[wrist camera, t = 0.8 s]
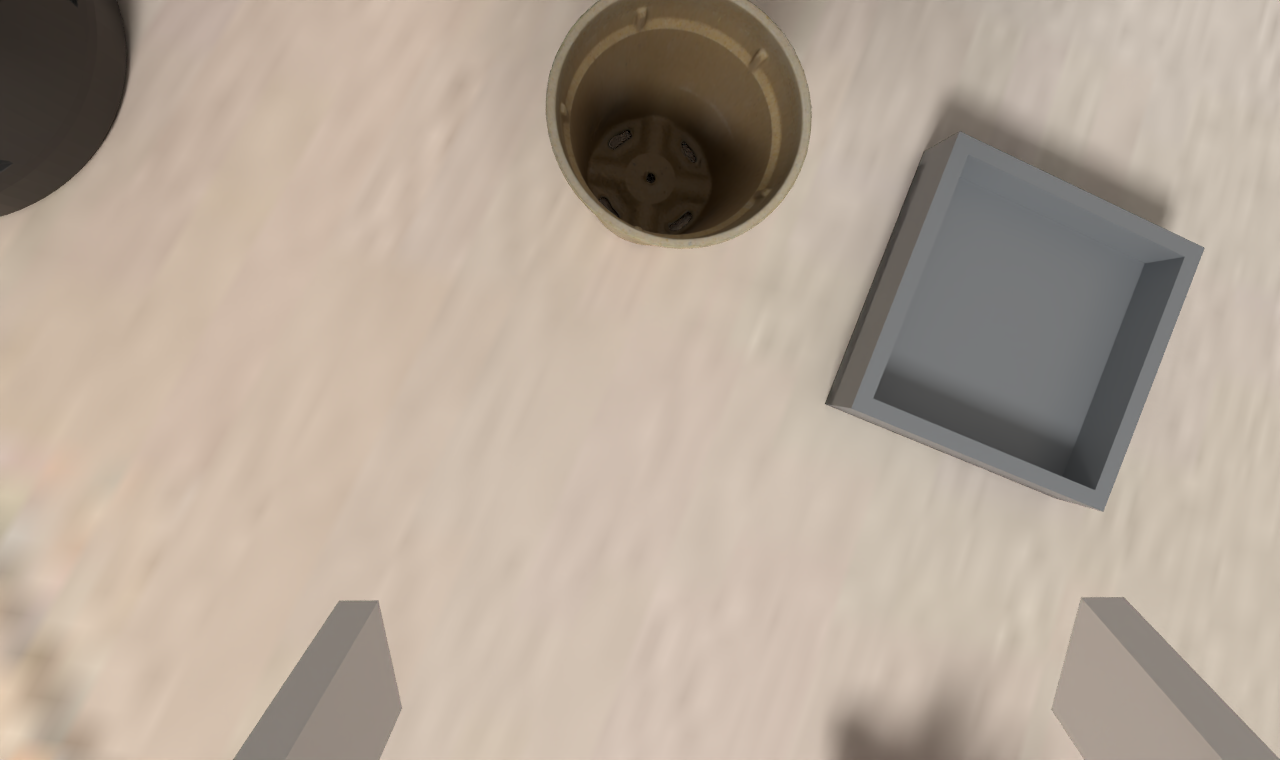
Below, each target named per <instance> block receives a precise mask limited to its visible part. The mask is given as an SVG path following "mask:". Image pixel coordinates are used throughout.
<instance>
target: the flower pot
mask: <svg viewBox="0 0 1280 760" xmlns="http://www.w3.org/2000/svg"><path fill="white" fill-rule="evenodd" d="M811 108H812V107H811V102H810V94H809V88H808V84H807V81H806V77H805V74H804V70H803V69H802V66H801V64H800V61H799V59H798V57H797V55H796V53H795V50H794V48H793V47H792V45H791V44H790V43H789V41H788V39H787V38H786V36H785V34H784V33H782V31H781V30H780V29H779V28H778V27H777V25H776V24H775V23H774V22H773V21H772V20H770V18H769V17H768V16H767V15H766V14H765V13H764V12H763V11H761V10H760V9H759V8H758V7H757V6H755V5H754V4H753V3H752V2H750V1H748V0H599V1H598V2H596V3H595V4H594V5H593V6H592V7H591V8H590V9H588V10H587V11H586V12H585V13H584V14H583V15H582V16H581V17H580V18H579V19H578V21H577V22H576V23H575V24H574V25H573V27H572V28H571V29H570V31H569V32H568V34H567V35H566V37H565V39H564V41H563V43H562V44H561V46H560V48H559V50H558V52H557V54H556V57H555V59H554V62H553V65H552V69H551V71H550V74H549V80H548V87H547V94H546V119H547V127H548V134H549V138H550V142H551V146H552V149H553V152H554V155H555V157H556V160H557V162H558V164H559V167H560V169H561V171H562V173H563V175H564V177H565V178H566V180H567V182H568V184H569V185H570V187H571V188H572V190H573V191H574V192H575V194H576V195H577V196H578V198H579V199H580V200H581V201H582V202H583V203H584V204H585V205H586V206H587V207H588V208H589V209H590V210H591V211H592V212H593V213H594V214H595V215H596V216H597V217H598V219H599V220H600V221H601V222H602V223H603V225H604V226H605V227H606V228H608V229H609V230H610V231H611V232H613V233H614V234H615V235H617V236H618V237H620V238H622V239H624V240H627V241H630V242H633V243H636V244H641V245H654V246H659V247H665V248H676V249H685V248H699V247H707V246H711V245H715V244H719V243H722V242H725V241H728V240H730V239H733V238H735V237H737V236H739V235H741V234H743V233H745V232H747V231H748V230H750V229H752V228H753V227H754V226H756V225H757V224H759V223H760V222H761V221H762V220H764V219H765V218H766V217H767V216H768V215H769V214H770V213H772V212H773V210H774V209H775V208H776V207H777V206H778V205H779V204H780V203H781V202H782V201H783V199H784V198H785V196H786V195H787V194H788V192H789V191H790V189H791V188H792V186H793V185H794V183H795V181H796V179H797V177H798V175H799V172H800V171H801V168H802V165H803V162H804V160H805V158H806V154H807V149H808V145H809V139H810V132H811V118H812V115H811ZM628 130H629V131H630V133H631V134H632V136H631V138H630V139H628V140H627V141H625V142H624V143H622V144H620V145H619V146H618V147H616V149H615V150H614V149H612V148H611V147H610V146H609V141H610V139H611V138H612V137H614V136H616V135H618V134H621V133H622V132H623V131H628ZM682 142H685V143H686V144H687V145H688V146H689V148H690V149H691V150H692V151H693V153H694V155H695V158H696V161H695V162H692V161H691V159H690V158H689V157H688V156H687V155H686V156H685V155H684V154H685V152H684V150H683V148H682V147H681V144H682ZM650 173H651V174H653V175H654V176H655V181H654V182H653V183H650V182H648V181H647V179H646V178H647V175H648V174H650ZM601 197H605V198H607V199H608V201H609V202H610V204H611V206H612V208H613V209H614V210H615V211H616V212H617V214H618V215H619V218H618V217H617V216H615V215H614V214H613V213H612V212H610V211H609V210H608V209H607V208H606V207H604V206H603V205H602V204H601V203H600V202H599V200H600V199H601ZM686 212H690V213H691V215H692V218H691V219H690V221H689V223H688V224H687V225H686V226H684V227H682V228H681V229H680V230H677V231H672V230H670V225H671V224H673V223H674V222H676V221H677V220H678V219H679V218H681V217H682V216H683V215H684V214H686Z"/></svg>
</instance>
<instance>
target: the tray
mask: <svg viewBox="0 0 1280 760" xmlns="http://www.w3.org/2000/svg"><path fill="white" fill-rule="evenodd" d="M1203 251H1204V247H1202V246H1200V245H1198V244H1196V243H1193V242H1191V241H1189V240H1187V239H1185V238H1183V237H1181V236H1179V235H1177V234H1175V233H1172V232H1170V231H1168V230H1166V229H1164V228H1162V227H1160V226H1158V225H1156V224H1154V223H1151V222H1149V221H1147V220H1145V219H1143V218H1141V217H1139V216H1137V215H1135V214H1133V213H1130V212H1128V211H1126V210H1124V209H1122V208H1120V207H1118V206H1116V205H1114V204H1112V203H1109V202H1107V201H1105V200H1103V199H1101V198H1099V197H1097V196H1095V195H1093V194H1091V193H1088V192H1086V191H1084V190H1082V189H1080V188H1078V187H1076V186H1074V185H1072V184H1070V183H1067V182H1065V181H1063V180H1061V179H1059V178H1057V177H1055V176H1053V175H1051V174H1049V173H1046V172H1044V171H1042V170H1040V169H1038V168H1036V167H1034V166H1032V165H1030V164H1028V163H1025V162H1023V161H1021V160H1019V159H1017V158H1015V157H1013V156H1011V155H1009V154H1007V153H1004V152H1002V151H1000V150H998V149H996V148H994V147H992V146H990V145H988V144H986V143H983V142H981V141H979V140H977V139H975V138H973V137H971V136H969V135H967V134H965V133H962V132H960V131H959V132H957V133H956V134H954V135H952V136H951V137H949V138H947V139H945V140H944V141H942V142H940V143H938V144H937V145H935V146H933V147H931V148H930V149H928V150H926V151H925V152H924V153H923V156H922V158H921V161H920V163H919V166H918V169H917V171H916V174H915V176H914V179H913V181H912V184H911V186H910V189H909V191H908V194H907V197H906V199H905V202H904V204H903V207H902V209H901V212H900V214H899V217H898V220H897V222H896V225H895V227H894V230H893V232H892V235H891V237H890V240H889V243H888V245H887V248H886V250H885V253H884V255H883V258H882V260H881V263H880V266H879V268H878V271H877V273H876V276H875V278H874V281H873V283H872V286H871V288H870V291H869V294H868V296H867V299H866V301H865V304H864V306H863V309H862V311H861V314H860V317H859V319H858V322H857V324H856V327H855V329H854V332H853V334H852V337H851V340H850V342H849V345H848V347H847V350H846V352H845V355H844V357H843V360H842V363H841V365H840V368H839V370H838V373H837V375H836V378H835V380H834V383H833V385H832V388H831V391H830V393H829V396H828V398H827V401H826V403H825V404H826V405H829V406H831V407H834V408H836V409H838V410H841V411H843V412H846V413H848V414H851V415H853V416H856V417H858V418H861V419H863V420H865V421H868V422H870V423H873V424H875V425H878V426H880V427H883V428H885V429H887V430H890V431H892V432H895V433H897V434H900V435H902V436H905V437H907V438H909V439H912V440H914V441H917V442H919V443H922V444H924V445H927V446H929V447H932V448H934V449H936V450H939V451H941V452H944V453H946V454H949V455H951V456H954V457H956V458H958V459H961V460H963V461H966V462H968V463H971V464H973V465H976V466H978V467H980V468H983V469H985V470H988V471H990V472H993V473H995V474H998V475H1000V476H1003V477H1005V478H1007V479H1010V480H1012V481H1015V482H1017V483H1020V484H1022V485H1025V486H1027V487H1029V488H1032V489H1034V490H1037V491H1039V492H1042V493H1044V494H1047V495H1049V496H1051V497H1054V498H1056V499H1060V500H1063V501H1067V502H1070V503H1074V504H1078V505H1081V506H1085V507H1088V508H1092V509H1095V510H1099V511H1104V508H1105V506H1106V503H1107V501H1108V498H1109V495H1110V493H1111V490H1112V488H1113V485H1114V482H1115V480H1116V477H1117V475H1118V472H1119V469H1120V467H1121V464H1122V462H1123V459H1124V456H1125V454H1126V451H1127V449H1128V446H1129V443H1130V441H1131V438H1132V436H1133V433H1134V430H1135V428H1136V425H1137V423H1138V420H1139V417H1140V415H1141V412H1142V410H1143V407H1144V404H1145V402H1146V399H1147V396H1148V394H1149V391H1150V389H1151V386H1152V383H1153V381H1154V378H1155V376H1156V373H1157V370H1158V368H1159V365H1160V363H1161V360H1162V357H1163V355H1164V352H1165V350H1166V347H1167V344H1168V342H1169V339H1170V337H1171V334H1172V331H1173V329H1174V326H1175V324H1176V321H1177V318H1178V316H1179V313H1180V311H1181V308H1182V305H1183V303H1184V300H1185V298H1186V295H1187V292H1188V290H1189V287H1190V285H1191V282H1192V279H1193V277H1194V274H1195V272H1196V269H1197V266H1198V264H1199V261H1200V258H1201V256H1202V253H1203Z"/></svg>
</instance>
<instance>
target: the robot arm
mask: <svg viewBox="0 0 1280 760" xmlns="http://www.w3.org/2000/svg"><path fill="white" fill-rule="evenodd" d="M125 71H126V42H125V34H124V27H123V23H122V18H121V14H120V10H119V7H118V4H117V1H116V0H0V216H4V215H7V214H10V213H13V212H15V211H18V210H21V209H23V208H25V207H27V206H29V205H32V204H34V203H36V202H37V201H39V200H41V199H43V198H45V197H46V196H48V195H49V194H51V193H52V192H54V191H55V190H57V189H58V188H60V187H61V186H62V185H63V184H65V183H66V182H67V181H69V180H70V179H71V178H72V177H73V176H74V175H75V174H76V173H77V172H78V171H79V170H80V169H81V168H82V167H83V166H84V165H85V164H86V163H87V162H88V160H89V159H90V158H91V157H92V155H93V154H94V153H95V152H96V150H97V149H98V147H99V146H100V144H101V143H102V141H103V139H104V138H105V136H106V134H107V132H108V131H109V129H110V126H111V124H112V122H113V120H114V118H115V115H116V112H117V109H118V107H119V103H120V99H121V96H122V91H123V86H124V81H125ZM401 709H402V706H401V701H400V696H399V692H398V687H397V683H396V678H395V674H394V669H393V665H392V660H391V655H390V651H389V646H388V642H387V637H386V633H385V628H384V624H383V619H382V615H381V610H380V605H379V601H339V602H338V603H337V605H336V606H335V608H334V609H333V611H332V612H331V614H330V615H329V617H328V618H327V620H326V621H325V623H324V624H323V626H322V627H321V629H320V630H319V632H318V633H317V635H316V636H315V638H314V639H313V641H312V642H311V644H310V645H309V647H308V648H307V650H306V651H305V653H304V654H303V656H302V657H301V659H300V660H299V662H298V663H297V665H296V666H295V668H294V669H293V671H292V672H291V674H290V675H289V677H288V678H287V680H286V681H285V683H284V684H283V686H282V687H281V689H280V690H279V692H278V693H277V695H276V696H275V698H274V699H273V701H272V702H271V704H270V705H269V707H268V708H267V710H266V711H265V713H264V714H263V716H262V717H261V719H260V720H259V722H258V723H257V725H256V726H255V728H254V729H253V731H252V732H251V734H250V735H249V737H248V738H247V740H246V741H245V743H244V744H243V746H242V747H241V749H240V750H239V752H238V753H237V755H236V756H235V758H234V759H233V760H379V759H380V757H381V755H382V752H383V750H384V748H385V746H386V743H387V741H388V739H389V736H390V734H391V732H392V730H393V727H394V725H395V723H396V721H397V718H398V716H399V714H400V711H401ZM1051 710H1052V711H1053V713H1054V714H1055V716H1056V717H1057V719H1058V720H1059V722H1060V723H1061V725H1062V726H1063V728H1064V729H1065V731H1066V733H1067V734H1068V736H1069V737H1070V739H1071V740H1072V742H1073V743H1074V745H1075V746H1076V748H1077V749H1078V751H1079V752H1080V754H1081V755H1082V757H1083V758H1084V760H1280V759H1279V758H1278V757H1277V756H1276V755H1275V754H1274V753H1273V752H1272V751H1271V750H1270V749H1269V748H1268V747H1267V745H1266V744H1265V743H1264V742H1263V741H1262V740H1261V739H1260V738H1259V737H1258V736H1257V735H1256V734H1255V733H1254V732H1253V731H1252V730H1251V729H1250V728H1249V727H1248V726H1247V725H1246V724H1245V723H1244V722H1243V721H1242V719H1241V718H1240V717H1239V716H1238V715H1237V714H1236V713H1235V712H1234V711H1233V710H1232V709H1231V708H1230V707H1229V706H1228V705H1227V704H1226V703H1225V702H1224V701H1223V700H1222V699H1221V698H1220V697H1219V696H1218V695H1217V694H1216V692H1215V691H1214V690H1213V689H1212V688H1211V687H1210V686H1209V685H1208V684H1207V683H1206V682H1205V681H1204V680H1203V679H1202V678H1201V677H1200V676H1199V675H1198V674H1197V673H1196V672H1195V671H1194V670H1193V669H1192V668H1191V666H1190V665H1189V664H1188V663H1187V662H1186V661H1185V660H1184V659H1183V658H1182V657H1181V656H1180V655H1179V654H1178V653H1177V652H1176V651H1175V650H1174V649H1173V648H1172V647H1171V646H1170V645H1169V644H1168V643H1167V642H1166V641H1165V639H1164V638H1163V637H1162V636H1161V635H1160V634H1159V633H1158V632H1157V631H1156V630H1155V629H1154V628H1153V627H1152V626H1151V625H1150V624H1149V623H1148V622H1147V621H1146V620H1145V619H1144V618H1143V617H1142V616H1141V615H1140V613H1139V612H1138V611H1137V610H1136V609H1135V608H1134V607H1133V606H1132V605H1131V604H1130V603H1129V602H1128V601H1127V600H1126V599H1125V598H1124V597H1086V598H1081V600H1080V603H1079V607H1078V611H1077V615H1076V618H1075V622H1074V626H1073V630H1072V633H1071V637H1070V641H1069V645H1068V649H1067V652H1066V656H1065V660H1064V664H1063V667H1062V671H1061V675H1060V679H1059V682H1058V686H1057V690H1056V694H1055V697H1054V701H1053V705H1052V709H1051Z"/></svg>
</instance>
